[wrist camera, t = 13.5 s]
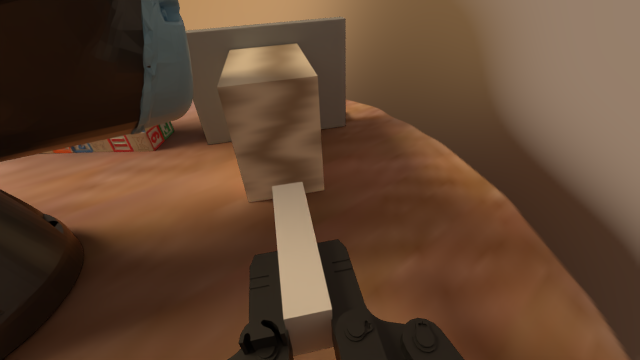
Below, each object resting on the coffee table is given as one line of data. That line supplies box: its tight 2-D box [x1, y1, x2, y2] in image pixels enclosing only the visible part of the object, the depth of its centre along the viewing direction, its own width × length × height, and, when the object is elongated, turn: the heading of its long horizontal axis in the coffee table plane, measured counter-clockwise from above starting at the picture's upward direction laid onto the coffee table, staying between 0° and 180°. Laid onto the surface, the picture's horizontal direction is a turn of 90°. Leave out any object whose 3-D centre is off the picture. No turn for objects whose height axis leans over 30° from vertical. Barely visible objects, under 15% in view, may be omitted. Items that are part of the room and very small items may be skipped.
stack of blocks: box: [44, 121, 174, 153], centre depth 38 cm, size 21×6×12 cm, turn 87°
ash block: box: [217, 43, 324, 202], centre depth 31 cm, size 8×14×12 cm, turn 11°
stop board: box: [186, 17, 346, 145], centre depth 38 cm, size 20×5×14 cm, turn 101°
